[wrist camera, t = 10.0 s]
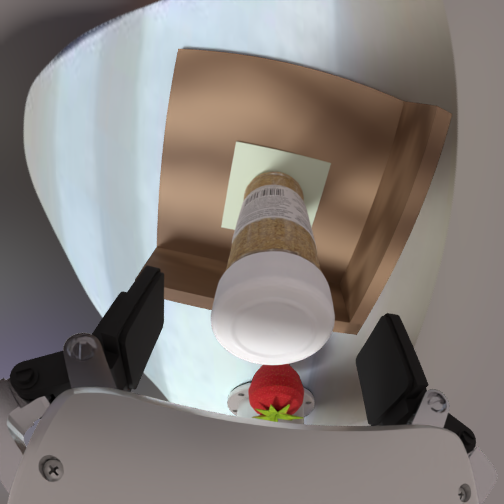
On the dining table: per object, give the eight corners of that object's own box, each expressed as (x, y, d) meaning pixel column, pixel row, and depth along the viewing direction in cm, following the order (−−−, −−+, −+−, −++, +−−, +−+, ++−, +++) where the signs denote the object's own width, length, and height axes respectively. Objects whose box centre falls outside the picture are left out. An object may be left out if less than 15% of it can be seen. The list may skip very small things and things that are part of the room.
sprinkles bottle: (245, 225, 23) (216, 367, 11) (242, 169, 20) (199, 280, 9) (303, 225, 22) (326, 369, 11) (305, 169, 20) (347, 281, 8)
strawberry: (304, 335, 30) (309, 416, 21) (300, 373, 34) (302, 444, 25) (249, 335, 30) (240, 416, 22) (253, 374, 34) (247, 443, 26)
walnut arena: (345, 292, 26) (356, 334, 22) (158, 254, 26) (135, 291, 21) (413, 106, 17) (452, 114, 12) (180, 49, 16) (151, 37, 12)
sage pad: (305, 243, 23) (305, 245, 23) (221, 226, 23) (221, 227, 23) (330, 162, 20) (331, 163, 20) (236, 141, 19) (236, 141, 19)
